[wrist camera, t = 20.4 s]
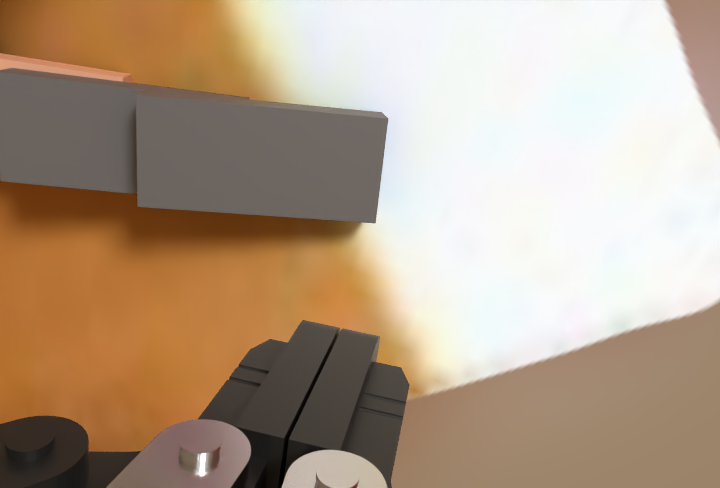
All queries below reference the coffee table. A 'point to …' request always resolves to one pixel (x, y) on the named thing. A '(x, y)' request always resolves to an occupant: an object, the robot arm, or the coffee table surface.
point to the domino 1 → (60, 68)
